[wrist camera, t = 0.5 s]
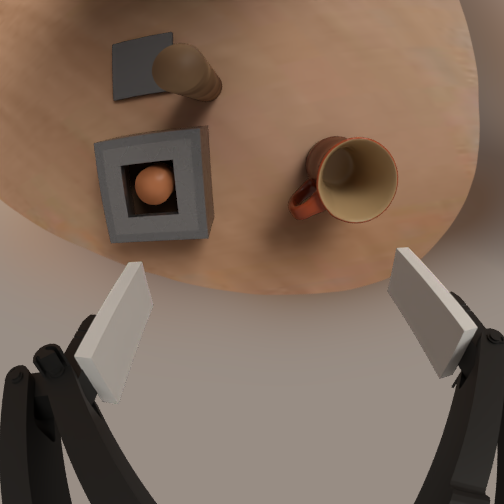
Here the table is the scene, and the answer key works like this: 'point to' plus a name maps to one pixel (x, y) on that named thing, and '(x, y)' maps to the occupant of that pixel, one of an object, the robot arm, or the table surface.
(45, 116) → the table surface
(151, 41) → the coaster
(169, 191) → the orange round ball
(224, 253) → the table surface
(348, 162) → the mug
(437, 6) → the table surface
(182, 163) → the grey hollow block
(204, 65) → the brown cylinder
